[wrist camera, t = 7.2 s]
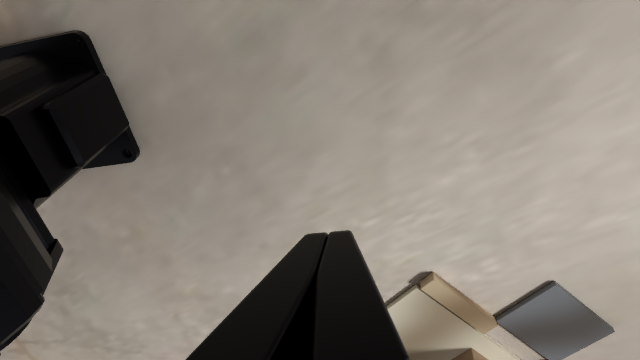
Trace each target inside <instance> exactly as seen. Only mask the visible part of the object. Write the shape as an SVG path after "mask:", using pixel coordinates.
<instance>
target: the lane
mask: <svg viewBox="0 0 640 360" xmlns="http://www.w3.org/2000/svg"><path fill="white" fill-rule="evenodd" d="M386 307H387V309H388V312H389V314H390V316H391V318H392V320H393V322H394V325H395V327H396V329H397V331H398V333H399V335H400V338H401V340H402V342H403V344H404V346H405V348H406V351H407V353H408V355H409V359H410V360H451V359H453V358H455V357H456V356H458V355H460V354H461V353H463V352H465V351H466V350H468V349H470V348H473V349H474V350H475V351H477V352H478V353H480V354H481V355H483V356H484V357H485V358H487V359H488V360H521V359H519V358H518V357H517V356H515V355H514V354H512V353H511V352H510V351H508V350H507V349H505V348H504V347H503V346H501V345H500V344H498V343H497V342H496V341H494V340H493V339H492V338H490V337H489V336H487V335H486V334H485V333H487V332H488V331H490V330H491V329H493V328H495V327H496V326H497V323H499V324H500V325H501V326H503V327H504V328H506V329H507V330H508V331H510V332H511V333H512V334H514V335H515V336H516V337H518V338H519V339H521V340H522V341H523V342H525V343H526V344H527V345H529V346H530V347H531V348H533V349H534V350H536V351H537V352H538V353H540V354H541V355H542V356H544V357H545V358H546V359H548V360H562V359H564V358H566V357H568V356H570V355H571V354H573V353H575V352H577V351H579V350H581V349H583V348H585V347H587V346H589V345H591V344H592V343H594V342H596V341H598V340H600V339H602V338H604V337H606V336H608V335H610V334H611V333H613V332H615V331H614V329H613V327H611V326H610V325H609V324H608V323H606V322H605V321H604V320H603V319H601V318H600V317H599V316H598V315H596V314H595V313H594V312H593V311H591V310H590V309H589V308H588V307H586V306H585V305H584V304H583V303H581V302H580V301H579V300H578V299H576V298H575V297H574V296H573V295H571V294H570V293H569V292H568V291H566V290H565V289H564V288H563V287H561V286H560V285H559V284H558V283H556V282H555V281H553V282H552V283H550V284H549V285H547V286H545V287H544V288H542V289H541V290H539V291H537V292H536V293H534V294H532V295H531V296H529V297H528V298H526V299H524V300H523V301H521V302H520V303H518V304H516V305H515V306H513V307H512V308H510V309H508V310H507V311H505V312H504V313H502V314H500V315H499V316H497V317H496V318H495V317H494V316H492V315H491V314H490V313H488V312H487V311H485V310H484V309H483V308H481V307H480V306H479V305H477V304H476V303H475V302H473V301H472V300H470V299H469V298H468V297H466V296H465V295H464V294H462V293H461V292H460V291H458V290H457V289H456V288H454V287H453V286H451V285H450V284H449V283H447V282H446V281H445V280H443V279H442V278H441V277H439V276H438V275H437V274H435V273H434V272H432V273H431V274H429V275H428V276H427V277H425V278H424V279H423V280H421V281H420V287H419V286H418V285H415V286H413V287H412V288H410V289H409V290H408V291H406V292H405V293H404V294H402V295H401V296H400V297H398V298H397V299H396V300H394V301H393V302H392V303H390V304H389V305H388V306H386Z"/></svg>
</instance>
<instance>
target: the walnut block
mask: <svg viewBox="0 0 640 360" xmlns="http://www.w3.org/2000/svg"><path fill="white" fill-rule="evenodd" d="M451 360H488V359H487V358H485V357H484V356H483V355H481V354H480V353H478V352H477V351H475V350H474V349H473V348H470V349H468V350H466V351H465V352H463V353H461V354H460V355H458V356H456V357H455V358H453V359H451Z"/></svg>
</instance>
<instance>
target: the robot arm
mask: <svg viewBox="0 0 640 360" xmlns="http://www.w3.org/2000/svg"><path fill="white" fill-rule="evenodd" d="M76 39H78V40H79V41H80V42H81V45H82V47H80V46H78V45H77V43H76ZM126 149H127V150H129V151H130V152H131V154H129V153H127V151H126ZM139 155H140V150H139V147H138V145H137V143H136V140H135V138H134V136H133V134H132V131H131V129H130V127H129V122H128V120H127V118H126V115H125V113H124V111H123V108H122V106H121V104H120V102H119V99H118V97H117V95H116V93H115V90H114V88H113V86H112V84H111V81H110V79H109V77H108V76H107V75H106V73H105V71H104V68H103V66H102V64H101V62H100V59H99V57H98V55H97V53H96V50H95V48H94V46H93V44H92V41H91V39H90V38H89V36H88V35H87V34H86V33H84V32H82V31H72V32H67V33H63V34H58V35H53V36H48V37H44V38H39V39H34V40H29V41H24V42H20V43H15V44H10V45H5V46H1V47H0V351H1V350H2V349H4V348H5V347H6V346H8V345H9V344H10V343H11V342H12V341H13V340H14V339H15V338H17V337H18V336H19V335H20V334H21V333H22V331H23V330H24V329H25V328H26V327H27V326H28V324H29V323H30V321H31V319H32V318H33V316H34V315H35V314H36V313H37V312H38V311H39V310H40V308H41V307H42V305H43V303H44V301H45V300H44V297H43V294H44V292H45V290H46V288H47V285H48V283H49V281H50V279H51V277H52V274H53V272H54V270H55V268H56V266H57V263H58V261H59V259H60V257H61V255H62V252H63V248H62V246H61V244H60V243H59V241H58V240H57V239H54V238H53V236H52V235H51V233H50V232H49V230H48V228H47V227H46V225H45V223H44V222H43V220H42V218H41V217H40V215H39V213H38V212H37V210H36V208H38V207H39V206H40V205H41V204H42V203H43V202H44V201H46V200H47V199H48V198H49V197H50V196H51V195H52V194H54V193H55V192H56V191H57V190H58V189H59V188H60V187H62V186H63V185H64V184H65V183H66V182H67V181H69V180H70V179H71V178H72V177H73V176H74V175H75V174H77V173H78V172H79V171H80V170H81V169H87V168H94V167H101V166H108V165H116V164H123V163H130V162H133V161H135V160H136V159H137V157H138V156H139ZM0 355H1V353H0ZM186 360H410V359H409V355H408V353H407V351H406V348H405V346H404V344H403V342H402V340H401V338H400V335H399V333H398V331H397V329H396V327H395V325H394V322H393V320H392V318H391V316H390V314H389V312H388V309H387V307H386V305H385V303H384V301H383V299H382V296H381V294H380V292H379V290H378V288H377V286H376V283H375V281H374V279H373V277H372V275H371V273H370V270H369V268H368V266H367V264H366V262H365V260H364V258H363V255H362V253H361V251H360V249H359V247H358V245H357V242H356V240H355V238H354V236H353V234H352V232H351V231H349V230H346V231H335V232H330V233H329V235H328V234H327V233H325V232H324V233H312V234H307V235H305V236H304V237H303V238H302V239H301V240H300V241H299V242H298V243H297V244H296V245H295V246H294V247H293V248H292V249H291V250H290V251H289V252H288V253H287V255H286V256H285V257H284V258H283V259H282V260H281V261H280V262H279V263H278V264H277V265H276V266H275V267H274V268H273V269H272V270H271V271H270V272H269V273H268V274H267V275H266V276H265V277H264V278H263V280H262V281H261V282H260V283H259V284H258V285H257V286H256V287H255V288H254V289H253V290H252V291H251V292H250V293H249V294H248V295H247V296H246V297H245V298H244V299H243V300H242V301H241V302H240V303H239V305H238V306H237V307H236V308H235V309H234V310H233V311H232V312H231V313H230V314H229V315H228V316H227V317H226V318H225V319H224V320H223V321H222V322H221V323H220V324H219V325H218V326H217V327H216V328H215V329H214V331H213V332H212V333H211V334H210V335H209V336H208V337H207V338H206V339H205V340H204V341H203V342H202V343H201V344H200V345H199V346H198V347H197V348H196V349H195V350H194V351H193V352H192V353H191V354H190V356H189V357H188V358H187V359H186Z"/></svg>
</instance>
